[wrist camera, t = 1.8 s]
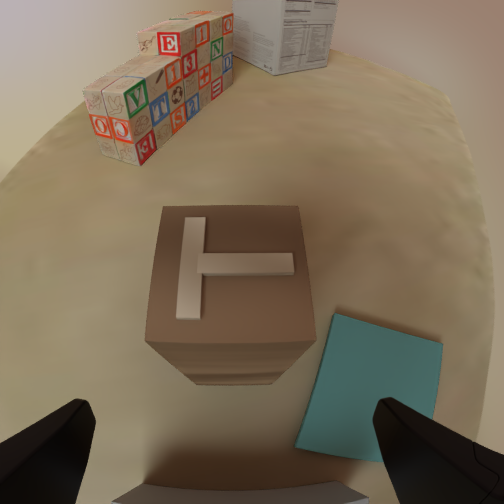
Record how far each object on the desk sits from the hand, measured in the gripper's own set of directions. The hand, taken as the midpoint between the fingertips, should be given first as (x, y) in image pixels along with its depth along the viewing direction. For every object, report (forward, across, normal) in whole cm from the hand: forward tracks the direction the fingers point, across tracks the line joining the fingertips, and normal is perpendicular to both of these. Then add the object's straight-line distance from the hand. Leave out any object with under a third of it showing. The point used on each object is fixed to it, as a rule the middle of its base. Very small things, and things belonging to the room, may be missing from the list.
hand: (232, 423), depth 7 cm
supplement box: (+47, -8, -30) cm, 56 cm away
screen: (+4, 0, +12) cm, 13 cm away
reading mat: (+8, -10, +8) cm, 15 cm away
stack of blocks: (+32, +8, -16) cm, 37 cm away
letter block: (+11, 0, +5) cm, 12 cm away
